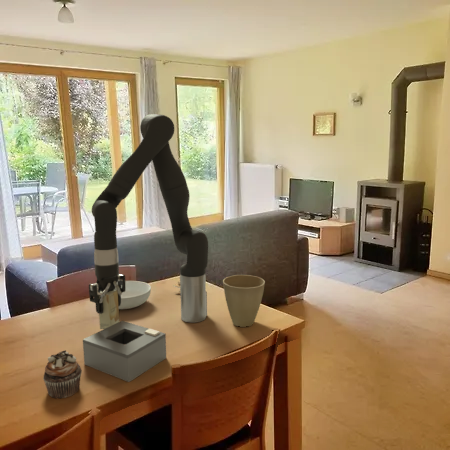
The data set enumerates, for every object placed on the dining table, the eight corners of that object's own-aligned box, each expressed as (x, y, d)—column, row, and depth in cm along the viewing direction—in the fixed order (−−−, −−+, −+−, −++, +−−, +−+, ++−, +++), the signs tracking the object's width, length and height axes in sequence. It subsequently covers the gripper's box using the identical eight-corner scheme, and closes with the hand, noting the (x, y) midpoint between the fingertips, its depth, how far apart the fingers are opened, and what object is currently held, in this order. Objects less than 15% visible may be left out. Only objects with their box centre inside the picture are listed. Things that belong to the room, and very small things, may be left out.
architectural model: (185, 296, 189) (184, 280, 187) (173, 293, 193) (172, 276, 191) (190, 294, 192) (190, 277, 190) (178, 291, 196) (178, 274, 194)
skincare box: (111, 330, 145) (109, 295, 143) (99, 329, 146) (97, 294, 144) (120, 322, 151) (118, 288, 149) (108, 321, 152) (106, 287, 150)
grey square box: (123, 343, 145) (122, 318, 144) (166, 358, 136) (165, 331, 134) (84, 364, 132) (82, 337, 130) (128, 382, 123) (127, 353, 121)
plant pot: (253, 335, 151) (253, 290, 148) (215, 326, 158) (215, 283, 155) (270, 319, 164) (271, 278, 161) (235, 312, 171) (235, 272, 168)
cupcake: (36, 393, 117) (33, 358, 115) (66, 376, 125) (64, 343, 123) (60, 404, 112) (57, 368, 110) (90, 386, 120) (88, 352, 118)
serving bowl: (127, 292, 193) (126, 277, 191) (162, 302, 181) (161, 286, 179) (87, 307, 176) (85, 290, 175) (122, 319, 164) (121, 302, 163)
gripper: (97, 268, 137) (100, 319, 140) (130, 258, 148) (132, 304, 152) (81, 264, 140) (84, 314, 144) (114, 254, 152) (116, 300, 156)
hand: (109, 309), depth 148 cm, fingers closed on skincare box, 7 cm apart
